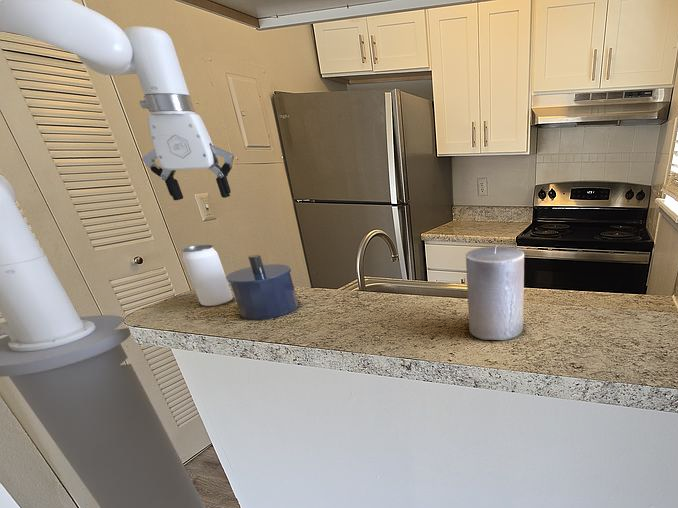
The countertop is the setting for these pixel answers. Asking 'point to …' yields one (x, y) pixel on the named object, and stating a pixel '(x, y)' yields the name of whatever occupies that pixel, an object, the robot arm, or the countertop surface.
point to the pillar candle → (495, 292)
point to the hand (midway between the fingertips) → (202, 198)
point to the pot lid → (257, 272)
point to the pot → (265, 298)
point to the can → (207, 275)
